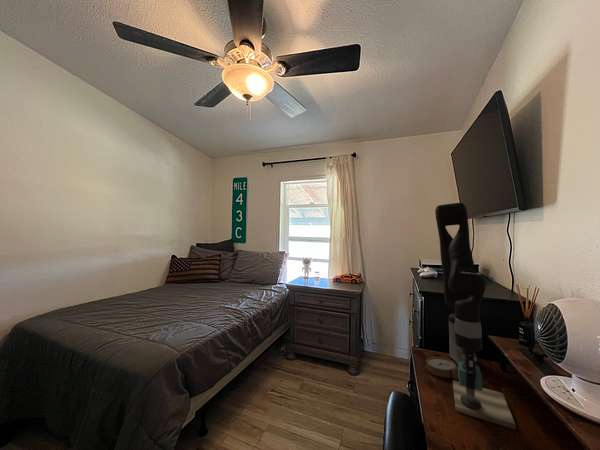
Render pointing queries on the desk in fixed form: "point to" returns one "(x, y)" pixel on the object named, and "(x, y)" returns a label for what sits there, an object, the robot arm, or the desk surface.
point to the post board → (483, 405)
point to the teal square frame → (478, 373)
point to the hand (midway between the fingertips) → (469, 382)
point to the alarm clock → (443, 367)
